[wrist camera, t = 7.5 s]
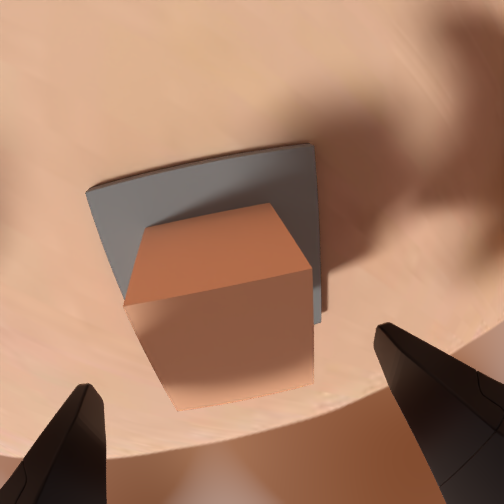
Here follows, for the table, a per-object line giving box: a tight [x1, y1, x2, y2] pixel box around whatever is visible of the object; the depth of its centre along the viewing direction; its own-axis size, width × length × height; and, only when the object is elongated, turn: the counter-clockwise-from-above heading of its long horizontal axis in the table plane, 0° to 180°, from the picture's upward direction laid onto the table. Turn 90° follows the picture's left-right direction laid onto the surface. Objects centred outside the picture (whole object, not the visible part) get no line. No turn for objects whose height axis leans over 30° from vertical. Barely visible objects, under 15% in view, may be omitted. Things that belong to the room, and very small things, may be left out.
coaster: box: [85, 143, 321, 324], centre depth 14 cm, size 9×9×1 cm
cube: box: [123, 203, 314, 411], centre depth 11 cm, size 5×5×5 cm
